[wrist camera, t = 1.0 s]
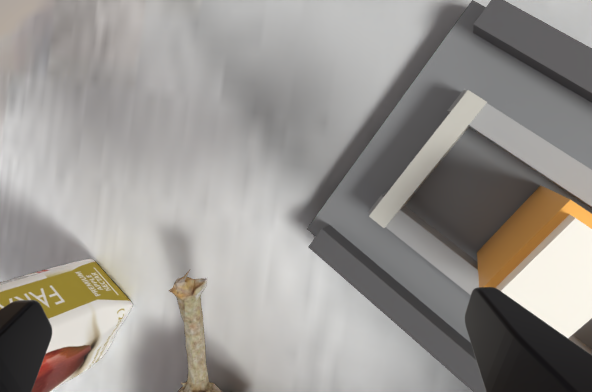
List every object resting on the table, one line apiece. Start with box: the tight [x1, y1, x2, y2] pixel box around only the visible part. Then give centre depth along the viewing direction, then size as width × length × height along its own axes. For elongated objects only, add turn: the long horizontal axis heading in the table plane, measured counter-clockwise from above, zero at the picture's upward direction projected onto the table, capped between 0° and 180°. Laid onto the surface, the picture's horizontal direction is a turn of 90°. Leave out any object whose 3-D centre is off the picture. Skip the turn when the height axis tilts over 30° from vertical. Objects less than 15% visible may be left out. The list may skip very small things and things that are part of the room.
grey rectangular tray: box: [307, 0, 592, 355], centre depth 18 cm, size 19×15×3 cm
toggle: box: [477, 185, 592, 338], centre depth 15 cm, size 3×4×7 cm
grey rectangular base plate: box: [309, 0, 592, 392], centre depth 18 cm, size 17×15×1 cm
